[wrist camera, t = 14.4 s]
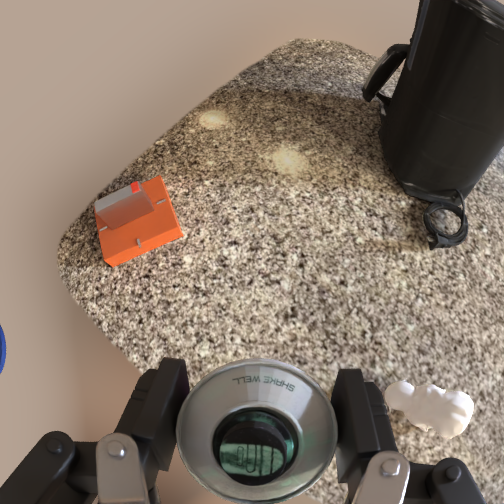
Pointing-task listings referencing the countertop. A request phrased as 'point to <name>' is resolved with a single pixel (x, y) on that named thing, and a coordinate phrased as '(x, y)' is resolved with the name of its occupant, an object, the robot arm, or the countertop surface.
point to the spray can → (257, 431)
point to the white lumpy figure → (431, 407)
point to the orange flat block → (141, 228)
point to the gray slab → (124, 205)
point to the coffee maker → (444, 105)
